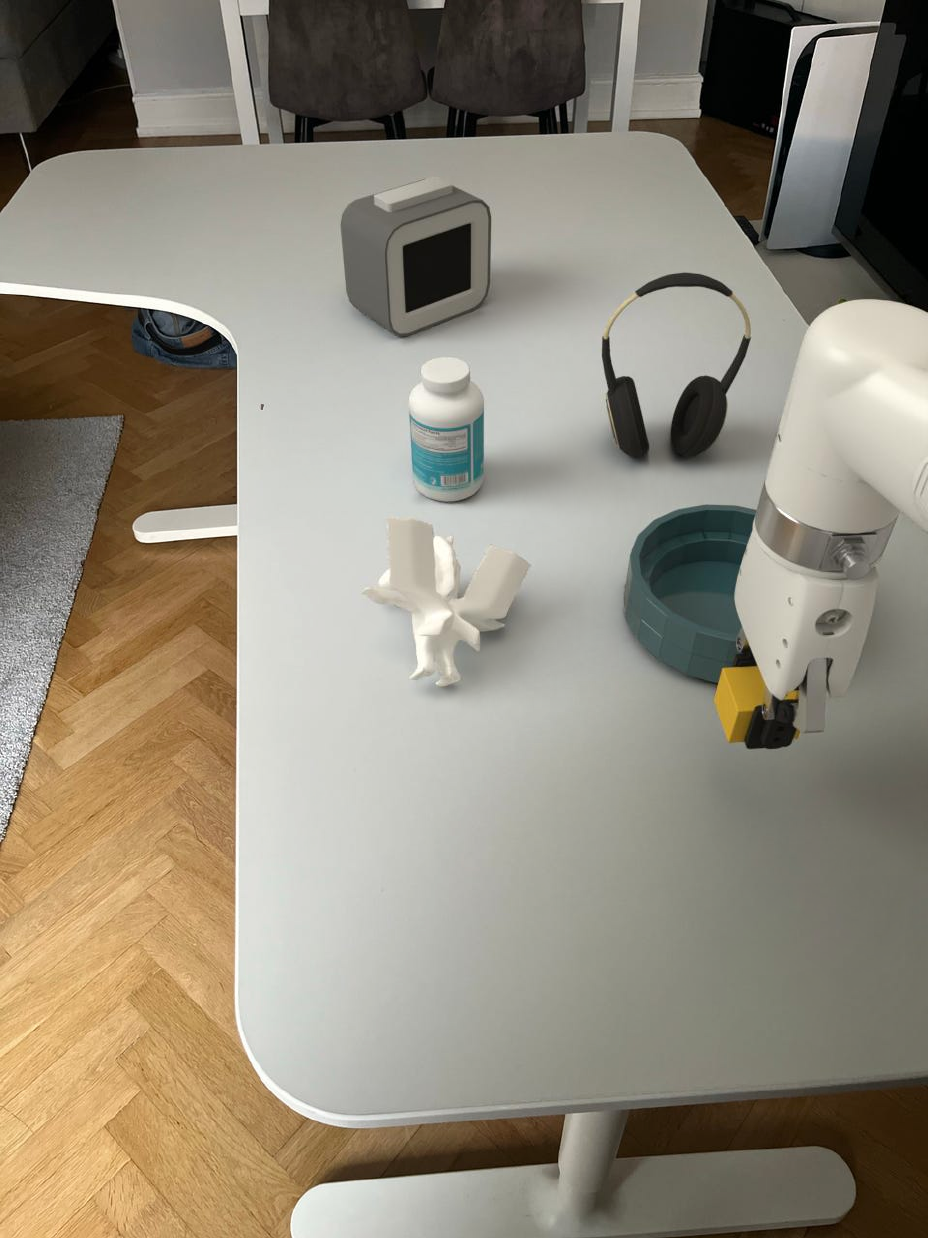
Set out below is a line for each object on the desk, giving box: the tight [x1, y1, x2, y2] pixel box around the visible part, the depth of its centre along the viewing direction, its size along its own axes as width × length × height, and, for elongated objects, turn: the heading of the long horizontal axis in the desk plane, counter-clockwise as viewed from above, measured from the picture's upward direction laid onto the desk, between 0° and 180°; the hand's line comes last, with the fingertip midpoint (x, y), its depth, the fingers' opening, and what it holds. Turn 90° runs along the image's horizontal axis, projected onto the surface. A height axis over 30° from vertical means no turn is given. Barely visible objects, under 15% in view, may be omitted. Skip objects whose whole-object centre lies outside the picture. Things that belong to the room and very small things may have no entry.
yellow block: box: [713, 666, 801, 744], centre depth 69 cm, size 4×5×4 cm
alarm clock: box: [340, 175, 492, 338], centre depth 126 cm, size 16×11×16 cm
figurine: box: [361, 516, 532, 687], centre depth 85 cm, size 15×12×14 cm
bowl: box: [623, 504, 757, 684], centre depth 87 cm, size 18×18×6 cm
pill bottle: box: [408, 356, 485, 502], centre depth 99 cm, size 8×7×14 cm
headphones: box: [601, 271, 752, 458], centre depth 101 cm, size 9×15×20 cm, turn 90°
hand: (757, 716), depth 70 cm, fingers closed on yellow block, 4 cm apart
